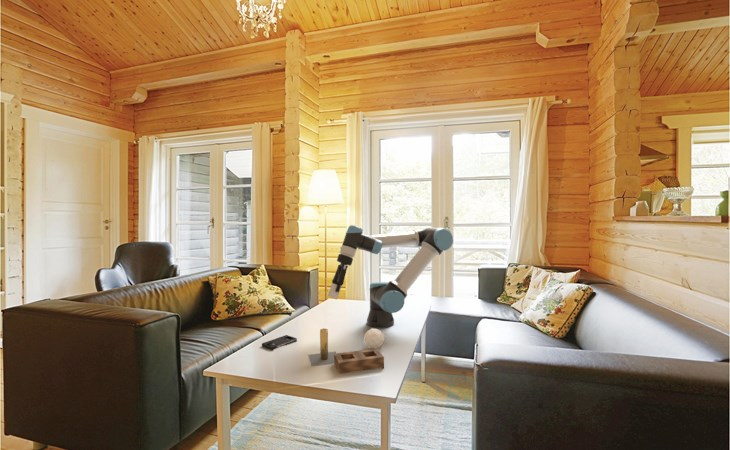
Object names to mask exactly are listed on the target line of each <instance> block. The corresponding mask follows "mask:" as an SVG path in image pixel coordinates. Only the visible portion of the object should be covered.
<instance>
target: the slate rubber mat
mask: <svg viewBox="0 0 730 450" xmlns="http://www.w3.org/2000/svg"><path fill="white" fill-rule="evenodd" d="M336 353H337V352H336V351H328V359H327V360H321V359H320V352H319V353H312V354H311V353H310V354H307V356H308V359H309V363H310V365H311V367H317V366H318V367H319V366H323V365H324V366H325V365H332V364H333V365H335V364H334V354H336Z"/></svg>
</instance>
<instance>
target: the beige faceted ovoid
mask: <svg viewBox="0 0 730 450" xmlns="http://www.w3.org/2000/svg"><path fill="white" fill-rule="evenodd" d="M363 337H364V338H363V341H364V343H365V346H366V347H368V348H369V349H379V348H380V347H382V345H383V344H384V341H385V340H386V339H387V337H386V334H385V333H383V332H382V331H381V330H380V329H378V328H373V327H372V328H370V329H369V330H367V331H366V332H365V333H364V336H363Z"/></svg>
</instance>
